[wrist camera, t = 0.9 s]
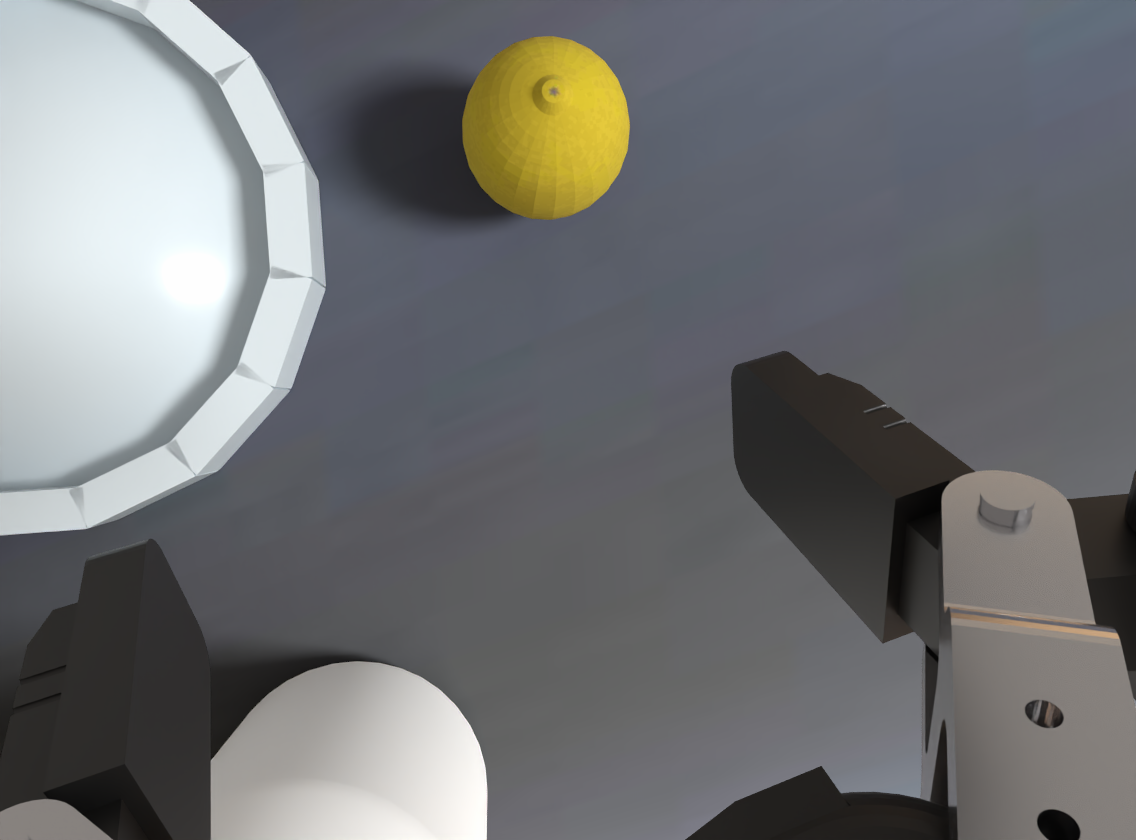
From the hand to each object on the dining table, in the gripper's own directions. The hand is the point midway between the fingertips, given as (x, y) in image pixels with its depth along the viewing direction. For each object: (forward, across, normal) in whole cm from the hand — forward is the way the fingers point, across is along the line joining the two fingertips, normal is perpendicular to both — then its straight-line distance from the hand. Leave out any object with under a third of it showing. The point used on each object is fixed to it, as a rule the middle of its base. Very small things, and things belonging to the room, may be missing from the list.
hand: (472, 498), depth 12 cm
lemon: (+23, -8, +3) cm, 24 cm away
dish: (+26, +10, +2) cm, 28 cm away
